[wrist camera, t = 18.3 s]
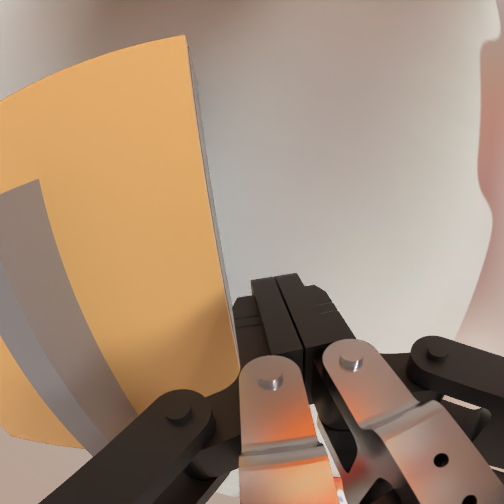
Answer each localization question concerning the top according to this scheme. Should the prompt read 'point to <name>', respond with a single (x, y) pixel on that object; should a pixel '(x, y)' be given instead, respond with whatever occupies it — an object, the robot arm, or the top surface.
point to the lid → (106, 249)
